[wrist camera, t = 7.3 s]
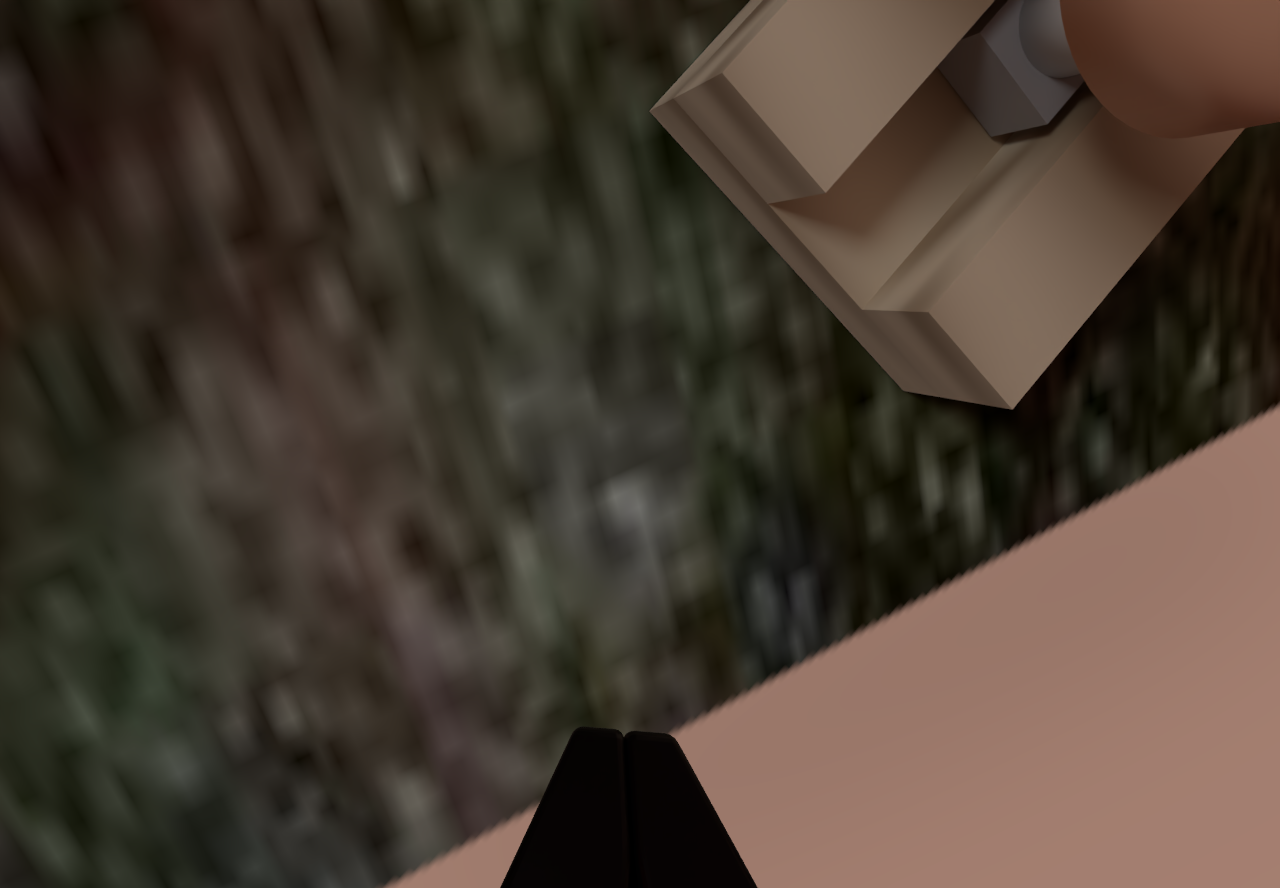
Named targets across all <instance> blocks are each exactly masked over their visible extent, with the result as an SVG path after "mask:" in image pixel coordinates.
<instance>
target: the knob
mask: <svg viewBox="0 0 1280 888" xmlns="http://www.w3.org/2000/svg"><path fill="white" fill-rule="evenodd" d="M937 67H938V69H939V70H940V71H941V72H942V74H943V75H944V76H945V78H946V79H947V80H948V82H949V83H950V84H951V85H952V87H953V88H954V89H955V91H956V92H957V93H958V95H959V96H960V97H961V98H962V100H963V101H964V102H965V104H966V105H967V106H968V108H969V109H970V110H971V111H972V113H973V114H974V115H975V117H976V118H977V119H978V121H979V122H980V123H981V125H982V126H983V127H984V128H985V130H986V131H987V132H988V134H989V135H990V136H991V137H993V136H997V135H1002V134H1006V133H1011V132H1015V131H1020V130H1024V129H1029V128H1033V127H1038V126H1042V125H1046V124H1048V123H1049V122H1050V121H1051V119H1052V118H1053V117H1054V116H1055V115H1056V114H1057V112H1058V111H1059V110H1060V109H1061V108H1062V107H1063V105H1064V104H1065V103H1066V102H1067V101H1068V100H1069V98H1070V97H1071V96H1072V95H1073V94H1074V93H1075V91H1076V90H1077V89H1078V88H1079V87H1080V86H1081V84H1082V83H1083V82H1084V81H1085V82H1086V84H1087V85H1088V87H1089V89H1090V90H1091V92H1092V93H1093V94H1094V95H1095V97H1096V98H1097V99H1098V100H1099V101H1100V103H1101V104H1102V105H1103V106H1104V107H1105V108H1106V109H1107V110H1108V111H1109V112H1110V113H1112V114H1113V115H1114V116H1115V117H1116V118H1118V119H1119V120H1121V121H1122V122H1123V123H1125V124H1126V125H1128V126H1130V127H1132V128H1134V129H1136V130H1138V131H1140V132H1142V133H1145V134H1149V135H1152V136H1156V137H1162V138H1171V139H1175V138H1189V137H1195V136H1200V135H1206V134H1212V133H1218V132H1223V131H1229V130H1235V129H1241V128H1247V127H1252V126H1258V125H1264V124H1270V123H1276V122H1280V0H995V1H994V2H993V3H992V4H991V5H990V7H989V8H988V9H987V10H986V11H985V12H984V13H983V14H982V16H981V17H980V18H979V19H978V20H977V21H976V22H975V24H974V25H973V26H972V27H971V28H970V29H969V30H968V32H967V33H966V34H965V35H964V36H963V37H962V38H961V40H960V41H959V42H958V43H957V44H956V45H955V46H954V48H953V49H952V50H951V51H950V52H949V53H948V54H947V56H946V57H945V58H944V59H943V60H942V61H941V62H940V63H939V65H938V66H937Z"/></svg>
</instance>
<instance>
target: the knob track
mask: <svg viewBox="0 0 1280 888" xmlns="http://www.w3.org/2000/svg"><path fill="white" fill-rule="evenodd" d="M994 1H995V0H750V1H749V2H748V3H747V4H746V6H745V7H744V8H743V9H742V10H741V11H740V12H739V13H738V14H737V15H736V17H735V18H734V19H733V20H732V21H731V22H730V23H729V24H728V25H727V26H726V27H725V29H724V30H723V31H722V32H721V33H720V34H719V35H718V36H717V37H716V38H715V40H714V41H713V42H712V43H711V44H710V45H709V46H708V47H707V48H706V49H705V50H704V52H703V53H702V54H701V55H700V56H699V57H698V58H697V59H696V60H695V61H694V63H693V64H692V65H691V66H690V67H689V68H688V69H687V70H686V71H685V72H684V74H683V75H682V76H681V77H680V78H679V79H678V80H677V81H676V82H675V83H674V84H673V86H672V87H671V88H670V89H669V90H668V91H667V92H666V93H665V94H664V95H663V97H662V98H661V99H660V100H659V101H658V102H657V103H656V104H655V105H654V106H653V107H652V109H651V110H650V112H651V114H652V115H653V116H654V117H655V118H656V119H657V120H658V121H659V122H660V123H661V125H662V126H663V127H664V128H665V129H666V130H667V131H668V132H669V133H670V134H671V136H672V137H673V138H674V139H675V140H676V141H677V142H678V143H679V144H680V145H681V147H682V148H683V149H684V150H685V151H686V152H687V153H688V154H689V155H690V156H691V158H692V159H693V160H694V161H695V162H696V163H697V164H698V165H699V166H700V167H701V169H702V170H703V171H704V172H705V173H706V174H707V175H708V176H709V177H710V178H711V180H712V181H713V182H714V183H715V184H716V185H717V186H718V187H719V188H720V190H721V191H722V192H723V193H724V194H725V195H726V196H727V197H728V198H729V199H730V201H731V202H732V203H733V204H734V205H735V206H736V207H737V208H738V209H739V210H740V212H741V213H742V214H743V215H744V216H745V217H746V218H747V219H748V220H749V221H750V223H751V224H752V225H753V226H754V227H755V228H756V229H757V230H758V231H759V232H760V234H761V235H762V236H763V237H764V238H765V239H766V240H767V241H768V242H769V243H770V245H771V246H772V247H773V248H774V249H775V250H776V251H777V252H778V253H779V254H780V256H781V257H782V258H783V259H784V260H785V261H786V262H787V263H788V264H789V265H790V267H791V268H792V269H793V270H794V271H795V272H796V273H797V274H798V275H799V276H800V278H801V279H802V280H803V281H804V282H805V283H806V284H807V285H808V286H809V287H810V289H811V290H812V291H813V292H814V293H815V294H816V295H817V296H818V297H819V298H820V300H821V301H822V302H823V303H824V304H825V305H826V306H827V307H828V308H829V310H830V311H831V312H832V313H833V314H834V315H835V316H836V317H837V318H838V319H839V321H840V322H841V323H842V324H843V325H844V326H845V327H846V328H847V329H848V330H849V332H850V333H851V334H852V335H853V336H854V337H855V338H856V339H857V340H858V341H859V343H860V344H861V345H862V346H863V347H864V348H865V349H866V350H867V351H868V352H869V354H870V355H871V356H872V357H873V358H874V359H875V360H876V361H877V362H878V363H879V365H880V366H881V367H882V368H883V369H884V370H885V371H886V372H887V373H888V374H889V376H890V377H891V378H892V379H893V380H894V381H895V382H896V383H897V384H898V385H899V387H900V388H901V389H902V390H903V391H907V392H913V393H919V394H924V395H930V396H936V397H942V398H948V399H954V400H960V401H965V402H971V403H977V404H983V405H989V406H995V407H1001V408H1006V409H1013V408H1014V407H1015V406H1016V405H1017V403H1018V402H1019V401H1020V400H1021V398H1022V397H1023V396H1024V395H1025V394H1026V392H1027V391H1028V390H1029V389H1030V388H1031V386H1032V385H1033V384H1034V383H1035V382H1036V380H1037V379H1038V378H1039V377H1040V376H1041V374H1042V373H1043V372H1044V371H1045V369H1046V368H1047V367H1048V366H1049V365H1050V363H1051V362H1052V361H1053V360H1054V359H1055V357H1056V356H1057V355H1058V354H1059V353H1060V351H1061V350H1062V349H1063V348H1064V346H1065V345H1066V344H1067V343H1068V342H1069V340H1070V339H1071V338H1072V337H1073V336H1074V334H1075V333H1076V332H1077V331H1078V330H1079V328H1080V327H1081V326H1082V325H1083V323H1084V322H1085V321H1086V320H1087V319H1088V317H1089V316H1090V315H1091V314H1092V313H1093V311H1094V310H1095V309H1096V308H1097V307H1098V305H1099V304H1100V303H1101V302H1102V301H1103V299H1104V298H1105V297H1106V296H1107V294H1108V293H1109V292H1110V291H1111V290H1112V288H1113V287H1114V286H1115V285H1116V284H1117V282H1118V281H1119V280H1120V279H1121V278H1122V276H1123V275H1124V274H1125V273H1126V271H1127V270H1128V269H1129V268H1130V267H1131V265H1132V264H1133V263H1134V262H1135V261H1136V259H1137V258H1138V257H1139V256H1140V255H1141V253H1142V252H1143V251H1144V250H1145V249H1146V247H1147V246H1148V245H1149V244H1150V242H1151V241H1152V240H1153V239H1154V238H1155V236H1156V235H1157V234H1158V233H1159V232H1160V230H1161V229H1162V228H1163V227H1164V226H1165V224H1166V223H1167V222H1168V221H1169V219H1170V218H1171V217H1172V216H1173V215H1174V213H1175V212H1176V211H1177V210H1178V209H1179V207H1180V206H1181V205H1182V204H1183V203H1184V201H1185V200H1186V199H1187V198H1188V196H1189V195H1190V194H1191V193H1192V192H1193V190H1194V189H1195V188H1196V187H1197V186H1198V184H1199V183H1200V182H1201V181H1202V180H1203V178H1204V177H1205V176H1206V175H1207V174H1208V172H1209V171H1210V170H1211V169H1212V167H1213V166H1214V165H1215V164H1216V163H1217V161H1218V160H1219V159H1220V158H1221V157H1222V155H1223V154H1224V153H1225V152H1226V151H1227V149H1228V148H1229V147H1230V146H1231V144H1232V143H1233V142H1234V141H1235V140H1236V138H1237V137H1238V136H1239V135H1240V134H1241V132H1242V131H1243V130H1244V129H1245V128H1241V129H1235V130H1229V131H1223V132H1218V133H1212V134H1206V135H1200V136H1195V137H1189V138H1175V139H1171V138H1162V137H1156V136H1152V135H1149V134H1145V133H1142V132H1140V131H1138V130H1136V129H1134V128H1132V127H1130V126H1128V125H1126V124H1125V123H1123V122H1122V121H1121V120H1119V119H1118V118H1116V117H1115V116H1114V115H1113V114H1112V113H1110V112H1109V111H1108V110H1107V109H1106V108H1105V107H1104V106H1103V105H1102V104H1101V103H1100V101H1099V100H1098V99H1097V98H1096V97H1095V95H1094V94H1093V93H1092V92H1091V90H1090V89H1089V87H1088V85H1087V84H1086V82H1085V81H1084V82H1083V83H1082V84H1081V86H1080V87H1079V88H1078V89H1077V90H1076V91H1075V93H1074V94H1073V95H1072V96H1071V97H1070V98H1069V100H1068V101H1067V102H1066V103H1065V104H1064V105H1063V107H1062V108H1061V109H1060V110H1059V111H1058V112H1057V114H1056V115H1055V116H1054V117H1053V118H1052V119H1051V121H1050V122H1049V123H1048V124H1046V125H1042V126H1038V127H1033V128H1029V129H1024V130H1020V131H1015V132H1011V133H1006V134H1002V135H997V136H993V137H991V136H990V135H989V134H988V132H987V131H986V130H985V128H984V127H983V126H982V125H981V123H980V122H979V121H978V119H977V118H976V117H975V115H974V114H973V113H972V111H971V110H970V109H969V108H968V106H967V105H966V104H965V102H964V101H963V100H962V98H961V97H960V96H959V95H958V93H957V92H956V91H955V89H954V88H953V87H952V85H951V84H950V83H949V82H948V80H947V79H946V78H945V76H944V75H943V74H942V72H941V71H940V70H939V69H938V67H937V66H938V65H939V63H940V62H941V61H942V60H943V59H944V58H945V57H946V56H947V54H948V53H949V52H950V51H951V50H952V49H953V48H954V46H955V45H956V44H957V43H958V42H959V41H960V40H961V38H962V37H963V36H964V35H965V34H966V33H967V32H968V30H969V29H970V28H971V27H972V26H973V25H974V24H975V22H976V21H977V20H978V19H979V18H980V17H981V16H982V14H983V13H984V12H985V11H986V10H987V9H988V8H989V7H990V5H991V4H992V3H993V2H994Z"/></svg>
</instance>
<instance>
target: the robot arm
mask: <svg viewBox="0 0 1280 888" xmlns="http://www.w3.org/2000/svg"><path fill="white" fill-rule="evenodd" d="M500 888H757V886H756V884H755V882H754V880H753V879H752V877H751V875H750V873H749V871H748V869H747V868H746V866H745V864H744V862H743V860H742V859H741V857H740V855H739V853H738V851H737V850H736V847H735V846H734V844H733V842H732V840H731V838H730V837H729V835H728V833H727V831H726V829H725V827H724V826H723V824H722V822H721V820H720V818H719V817H718V815H717V813H716V811H715V809H714V807H713V806H712V804H711V802H710V800H709V798H708V796H707V795H706V793H705V791H704V789H703V787H702V786H701V784H700V782H699V780H698V778H697V776H696V774H695V773H694V771H693V769H692V767H691V765H690V764H689V762H688V760H687V758H686V756H685V754H684V753H683V751H682V749H681V747H680V746H679V744H678V742H677V741H676V739H675V738H674V737H672V736H671V735H669V734H665V733H653V732H641V731H631V732H628V733H627V734H626V735H625V736H624V737H623V735H622V733H621V732H620V731H619V730H616V729H606V728H594V727H579V728H577V729H576V730H575V731H574V732H573V733H572V735H571V737H570V739H569V741H568V744H567V746H566V748H565V750H564V752H563V754H562V756H561V759H560V761H559V763H558V765H557V767H556V769H555V772H554V774H553V776H552V778H551V780H550V782H549V784H548V787H547V789H546V791H545V793H544V795H543V797H542V799H541V802H540V804H539V806H538V808H537V810H536V812H535V814H534V817H533V819H532V821H531V823H530V825H529V828H528V829H527V832H526V834H525V836H524V838H523V840H522V843H521V845H520V847H519V849H518V851H517V853H516V855H515V857H514V860H513V862H512V864H511V866H510V868H509V870H508V872H507V875H506V877H505V879H504V881H503V883H502V885H501V887H500Z"/></svg>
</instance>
